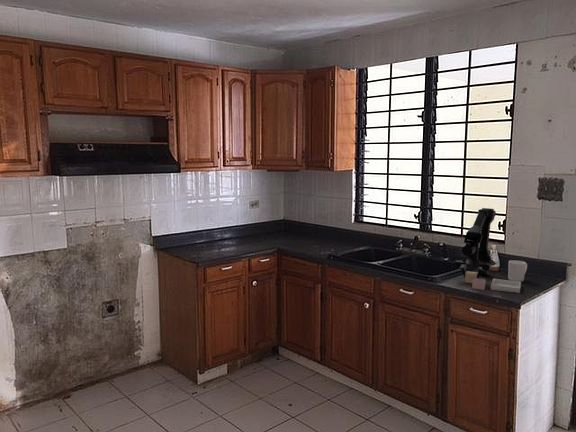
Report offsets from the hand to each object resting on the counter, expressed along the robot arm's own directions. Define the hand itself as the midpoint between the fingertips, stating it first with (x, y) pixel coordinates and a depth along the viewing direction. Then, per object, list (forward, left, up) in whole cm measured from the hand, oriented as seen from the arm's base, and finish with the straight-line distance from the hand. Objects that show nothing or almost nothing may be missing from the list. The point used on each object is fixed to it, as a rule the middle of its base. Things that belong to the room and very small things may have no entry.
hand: (471, 280), depth 268 cm
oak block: (0, 0, -1) cm, 1 cm away
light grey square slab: (+4, +18, -1) cm, 18 cm away
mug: (-17, +23, -1) cm, 29 cm away
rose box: (+10, +5, -1) cm, 11 cm away
